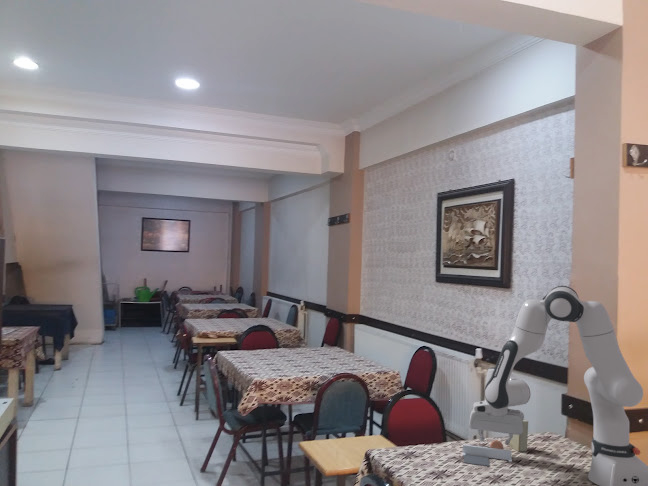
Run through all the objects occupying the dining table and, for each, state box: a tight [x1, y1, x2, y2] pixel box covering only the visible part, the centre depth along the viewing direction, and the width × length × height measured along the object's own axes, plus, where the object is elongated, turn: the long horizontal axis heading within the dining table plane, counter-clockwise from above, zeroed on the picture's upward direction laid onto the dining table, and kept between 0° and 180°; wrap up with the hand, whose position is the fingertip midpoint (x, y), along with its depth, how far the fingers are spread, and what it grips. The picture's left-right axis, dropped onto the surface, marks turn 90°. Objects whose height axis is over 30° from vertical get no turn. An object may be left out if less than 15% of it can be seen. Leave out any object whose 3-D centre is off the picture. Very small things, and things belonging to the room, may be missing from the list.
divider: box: [462, 444, 513, 463], centre depth 200 cm, size 18×5×4 cm, turn 75°
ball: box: [489, 440, 504, 449], centre depth 205 cm, size 5×5×5 cm
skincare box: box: [508, 418, 529, 452], centre depth 211 cm, size 6×4×12 cm
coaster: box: [463, 454, 490, 467], centre depth 196 cm, size 9×9×1 cm
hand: (494, 442), depth 204 cm, fingers open, 8 cm apart
